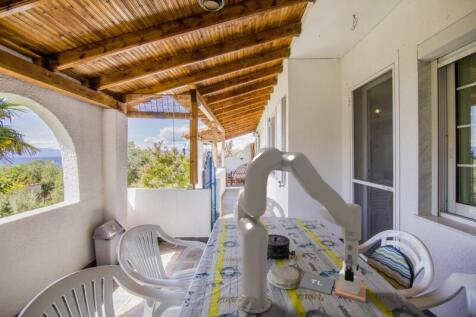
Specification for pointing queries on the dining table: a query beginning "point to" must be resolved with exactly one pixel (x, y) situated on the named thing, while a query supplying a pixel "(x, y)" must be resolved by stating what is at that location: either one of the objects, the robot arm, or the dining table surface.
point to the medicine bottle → (347, 285)
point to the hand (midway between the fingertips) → (350, 275)
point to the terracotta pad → (359, 297)
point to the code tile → (317, 283)
